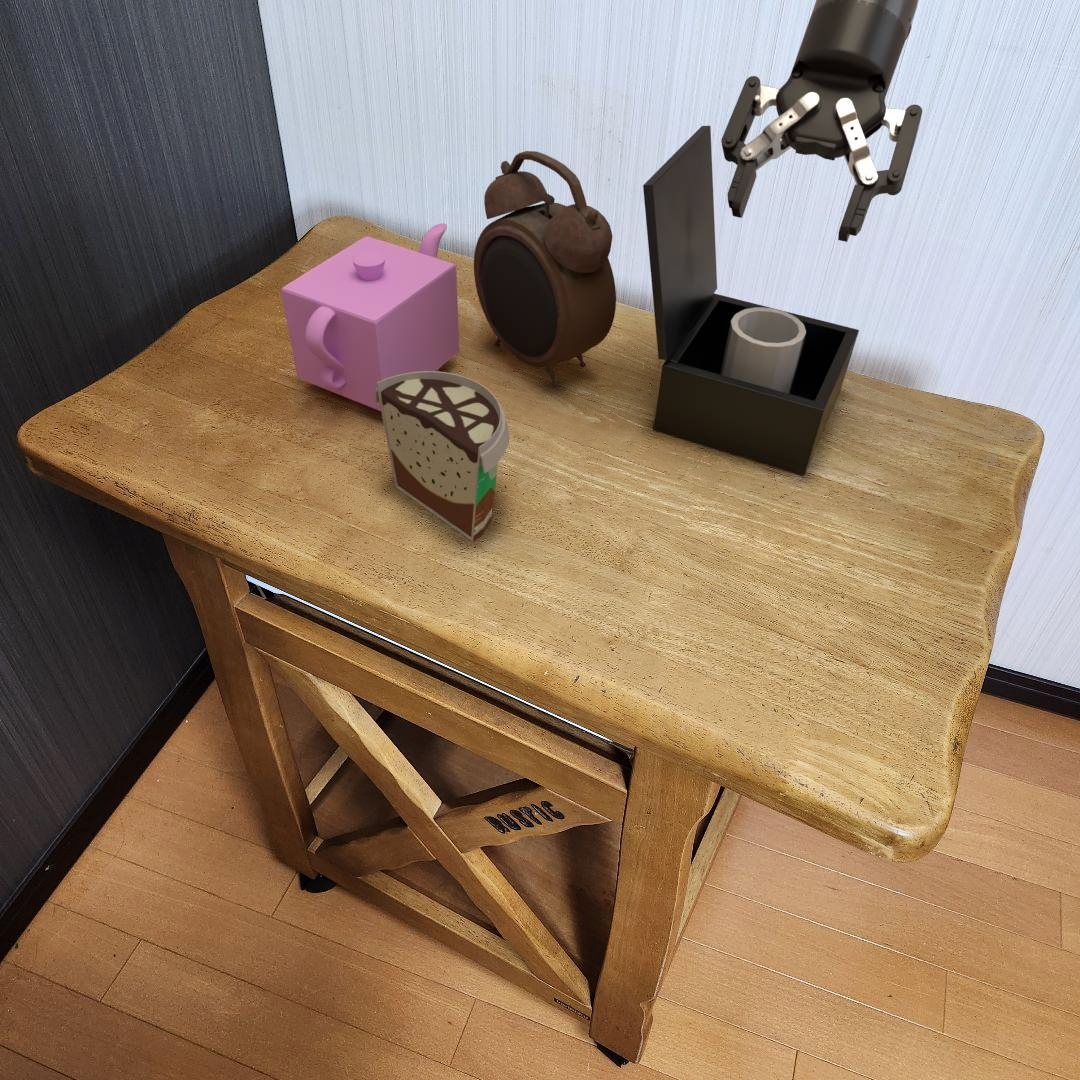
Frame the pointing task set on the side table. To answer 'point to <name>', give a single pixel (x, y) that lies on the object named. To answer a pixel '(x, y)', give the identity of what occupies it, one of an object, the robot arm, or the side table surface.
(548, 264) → the alarm clock
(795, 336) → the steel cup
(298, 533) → the side table surface
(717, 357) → the black square box
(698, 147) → the black box lid
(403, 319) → the teapot
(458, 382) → the food container
